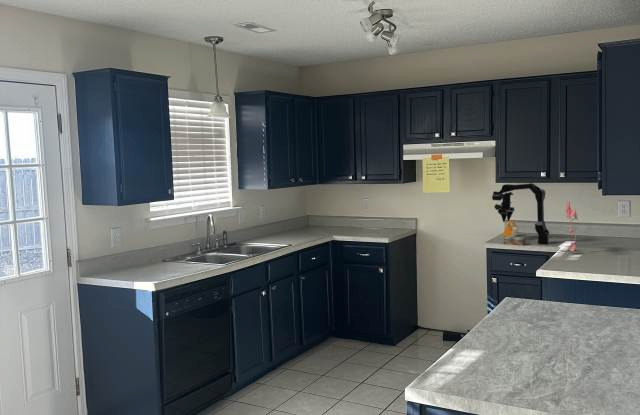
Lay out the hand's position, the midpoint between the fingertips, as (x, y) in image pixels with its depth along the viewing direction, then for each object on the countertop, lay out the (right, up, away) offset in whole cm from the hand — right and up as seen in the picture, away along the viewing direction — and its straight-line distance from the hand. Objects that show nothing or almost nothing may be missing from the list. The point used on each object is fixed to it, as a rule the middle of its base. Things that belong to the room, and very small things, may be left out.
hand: (506, 221), depth 462 cm
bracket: (+10, -13, +19) cm, 25 cm away
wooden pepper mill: (+3, -16, -10) cm, 19 cm away
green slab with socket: (+3, -16, -13) cm, 21 cm away
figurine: (+25, -20, -51) cm, 60 cm away
